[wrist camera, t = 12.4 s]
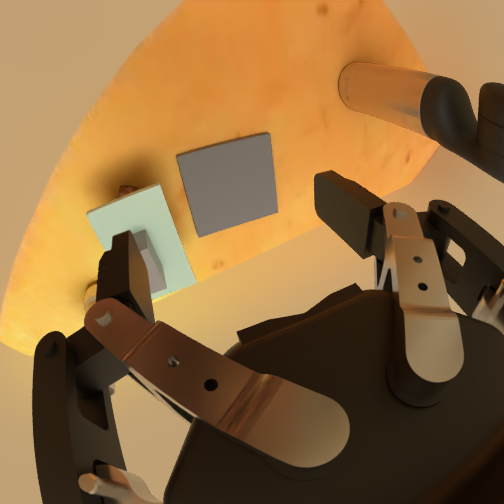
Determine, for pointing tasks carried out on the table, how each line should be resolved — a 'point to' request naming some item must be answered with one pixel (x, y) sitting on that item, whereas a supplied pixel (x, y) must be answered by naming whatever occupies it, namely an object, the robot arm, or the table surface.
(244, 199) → the rubber mat
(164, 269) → the lid
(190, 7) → the table surface
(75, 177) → the table surface
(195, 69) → the table surface
